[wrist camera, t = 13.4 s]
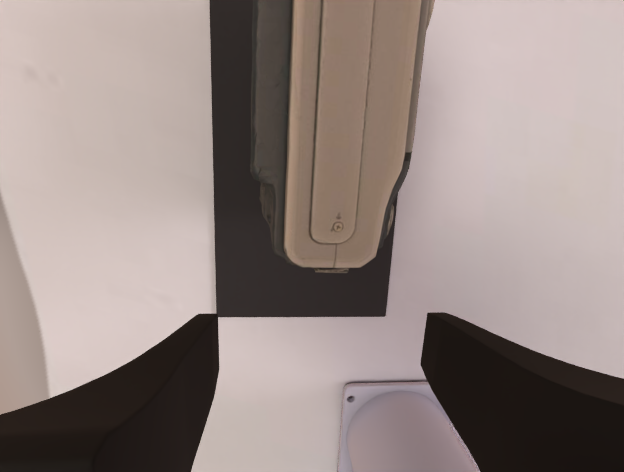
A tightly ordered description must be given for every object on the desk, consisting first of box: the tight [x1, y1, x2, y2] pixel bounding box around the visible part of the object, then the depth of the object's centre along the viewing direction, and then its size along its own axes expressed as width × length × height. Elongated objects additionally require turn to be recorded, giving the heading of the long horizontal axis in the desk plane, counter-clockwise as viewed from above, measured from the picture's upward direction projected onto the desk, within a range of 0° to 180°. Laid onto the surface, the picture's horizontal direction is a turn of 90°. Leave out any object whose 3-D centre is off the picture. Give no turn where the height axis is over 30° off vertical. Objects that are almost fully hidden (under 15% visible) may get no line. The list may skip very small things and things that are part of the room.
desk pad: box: [210, 0, 398, 317], centre depth 20 cm, size 20×11×1 cm, turn 177°
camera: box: [251, 0, 435, 273], centre depth 15 cm, size 11×6×10 cm, turn 175°
